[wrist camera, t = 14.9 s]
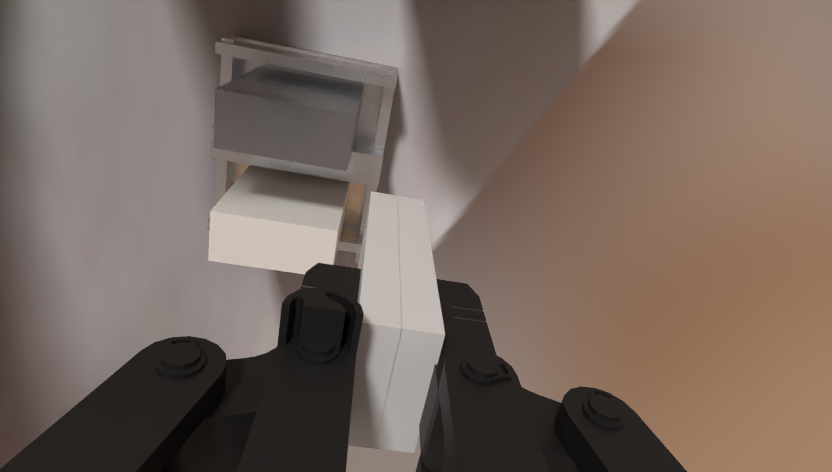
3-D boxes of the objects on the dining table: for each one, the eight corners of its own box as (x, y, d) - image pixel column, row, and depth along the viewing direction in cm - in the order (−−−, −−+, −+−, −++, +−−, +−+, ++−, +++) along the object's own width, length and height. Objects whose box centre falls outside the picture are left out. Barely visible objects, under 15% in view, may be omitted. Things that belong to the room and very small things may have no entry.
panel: (249, 201, 44) (208, 260, 34) (252, 161, 43) (210, 211, 33) (344, 216, 45) (331, 278, 35) (350, 178, 44) (338, 231, 34)
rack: (223, 226, 46) (171, 296, 35) (233, 35, 40) (174, 48, 29) (365, 248, 48) (357, 322, 37) (397, 67, 41) (399, 92, 31)
